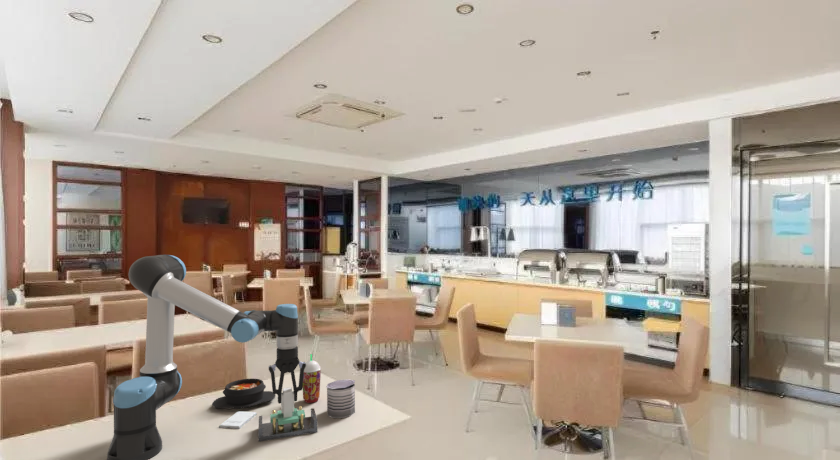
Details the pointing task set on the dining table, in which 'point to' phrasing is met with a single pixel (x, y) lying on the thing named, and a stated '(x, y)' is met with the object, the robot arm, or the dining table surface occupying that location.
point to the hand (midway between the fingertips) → (287, 410)
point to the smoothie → (311, 381)
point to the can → (341, 398)
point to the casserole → (243, 394)
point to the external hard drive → (238, 420)
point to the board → (287, 410)
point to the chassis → (287, 427)
